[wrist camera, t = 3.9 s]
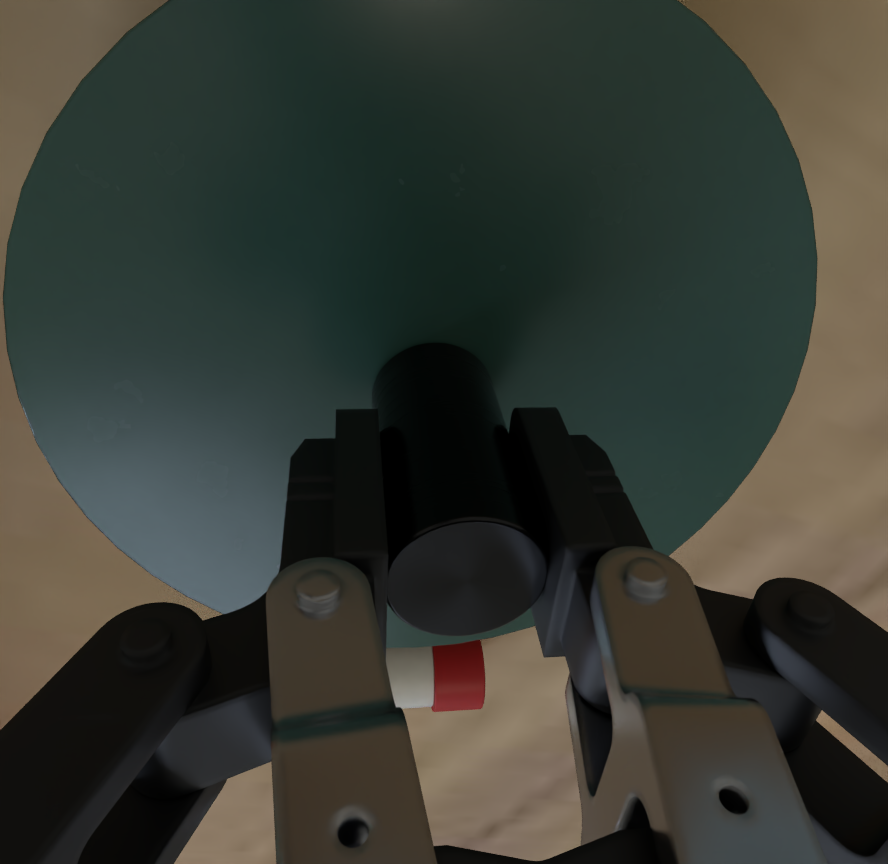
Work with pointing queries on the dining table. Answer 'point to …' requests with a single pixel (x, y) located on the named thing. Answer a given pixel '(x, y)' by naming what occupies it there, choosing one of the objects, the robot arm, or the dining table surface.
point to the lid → (406, 280)
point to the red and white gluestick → (438, 676)
